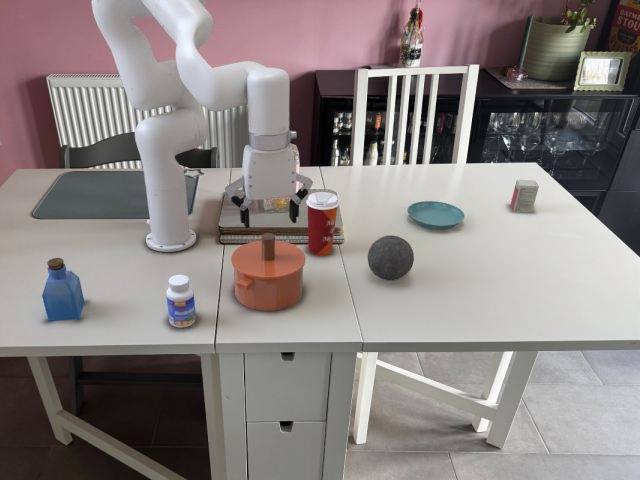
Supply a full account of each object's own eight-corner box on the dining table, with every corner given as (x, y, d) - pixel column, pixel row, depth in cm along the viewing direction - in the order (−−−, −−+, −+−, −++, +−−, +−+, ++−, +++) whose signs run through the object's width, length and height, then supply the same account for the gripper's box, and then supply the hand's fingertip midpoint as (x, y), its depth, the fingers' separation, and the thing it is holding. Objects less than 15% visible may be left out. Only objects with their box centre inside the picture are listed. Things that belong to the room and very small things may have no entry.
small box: (528, 206, 159) (535, 180, 155) (532, 213, 156) (539, 186, 151) (509, 205, 160) (516, 179, 156) (512, 211, 156) (519, 185, 152)
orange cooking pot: (214, 303, 120) (212, 271, 116) (264, 263, 134) (264, 232, 130) (272, 325, 114) (272, 292, 109) (319, 280, 128) (321, 249, 123)
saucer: (401, 228, 149) (402, 219, 147) (410, 206, 160) (412, 197, 159) (460, 238, 144) (462, 228, 142) (465, 214, 155) (467, 205, 154)
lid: (216, 268, 118) (215, 242, 115) (257, 238, 129) (257, 213, 126) (280, 290, 111) (281, 262, 108) (318, 256, 122) (319, 230, 118)
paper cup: (334, 259, 135) (338, 205, 128) (302, 256, 137) (304, 202, 129) (337, 244, 142) (340, 191, 134) (306, 241, 143) (308, 189, 136)
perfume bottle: (54, 303, 121) (42, 254, 114) (84, 302, 121) (74, 253, 115) (48, 321, 116) (35, 270, 109) (79, 319, 116) (68, 268, 110)
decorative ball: (402, 293, 123) (409, 253, 117) (359, 281, 127) (363, 242, 122) (416, 272, 130) (422, 233, 125) (374, 262, 134) (378, 224, 129)
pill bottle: (176, 331, 112) (171, 290, 107) (165, 318, 116) (160, 277, 111) (200, 322, 115) (197, 282, 109) (188, 309, 118) (185, 269, 113)
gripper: (308, 130, 110) (305, 211, 119) (219, 137, 107) (224, 219, 116) (319, 141, 104) (316, 226, 113) (226, 150, 101) (230, 236, 110)
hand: (269, 223), depth 115 cm, fingers open, 9 cm apart
